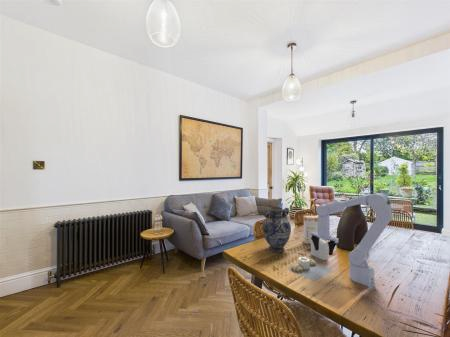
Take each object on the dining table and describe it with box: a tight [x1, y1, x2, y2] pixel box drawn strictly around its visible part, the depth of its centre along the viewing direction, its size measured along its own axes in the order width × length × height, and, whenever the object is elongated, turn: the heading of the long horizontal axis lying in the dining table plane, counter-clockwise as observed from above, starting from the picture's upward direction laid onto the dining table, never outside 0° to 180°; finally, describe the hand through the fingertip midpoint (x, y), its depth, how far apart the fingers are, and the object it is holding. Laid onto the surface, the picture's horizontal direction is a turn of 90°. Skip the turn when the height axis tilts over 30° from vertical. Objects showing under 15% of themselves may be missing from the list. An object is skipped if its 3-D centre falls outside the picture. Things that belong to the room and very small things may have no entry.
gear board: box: [286, 257, 334, 282], centre depth 107 cm, size 16×18×6 cm
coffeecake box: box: [303, 215, 328, 245], centre depth 151 cm, size 15×7×20 cm, turn 80°
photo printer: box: [310, 239, 329, 261], centre depth 123 cm, size 10×4×12 cm, turn 25°
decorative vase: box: [262, 206, 292, 253], centre depth 139 cm, size 21×19×28 cm
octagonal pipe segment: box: [297, 256, 310, 269], centre depth 110 cm, size 5×5×4 cm
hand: (323, 252), depth 110 cm, fingers open, 7 cm apart
